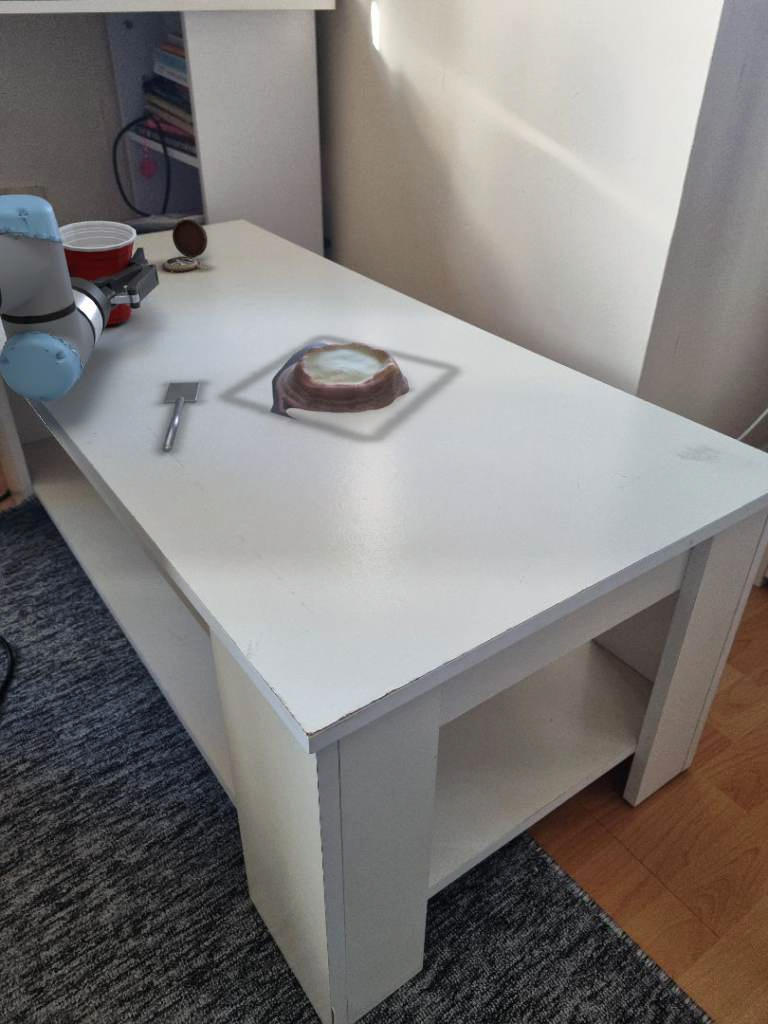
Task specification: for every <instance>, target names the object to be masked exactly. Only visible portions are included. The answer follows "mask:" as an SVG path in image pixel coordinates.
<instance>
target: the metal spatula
mask: <svg viewBox="0 0 768 1024" xmlns="http://www.w3.org/2000/svg"><path fill="white" fill-rule="evenodd" d="M200 388H201V381H197V382H196V381H193V382H192V381H191V382H170V383H169V386H168V389H167V392H166V395H165V398H164V401H163V402H164V404H174V407H173V410H172V414H171V416H170V417H171V418H170V421H169V425H168V428H167V430H166V431H167V432H166V435H165V438H164V442H163V445H162V449H161V450H162V452H165V453H168V452H169V453H170V452H171V451H173V448H174V444H175V440H176V437H177V434H178V433H177V432H178V429H179V425H180V421H181V417H182V414H183V410H184V407H185V404H192V403H193V404H195V403H197V400H198V397H199V394H200V393H199V392H200Z"/></svg>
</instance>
